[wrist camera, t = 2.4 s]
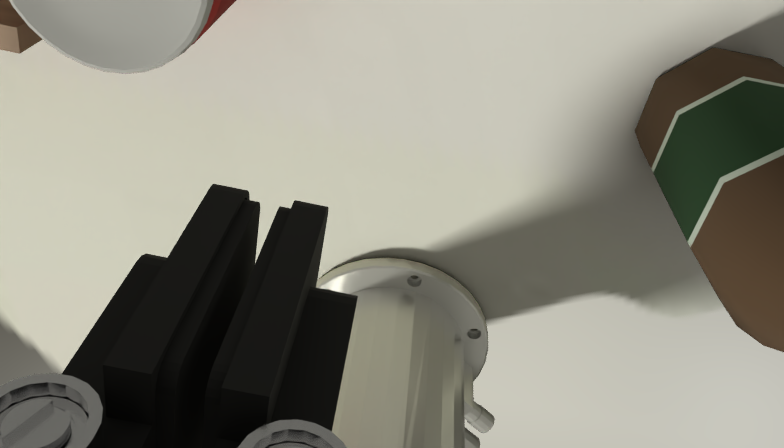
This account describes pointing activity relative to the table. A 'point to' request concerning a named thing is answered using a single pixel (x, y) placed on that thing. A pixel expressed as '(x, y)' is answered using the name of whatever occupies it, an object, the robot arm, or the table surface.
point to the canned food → (121, 29)
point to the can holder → (14, 30)
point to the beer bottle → (726, 177)
